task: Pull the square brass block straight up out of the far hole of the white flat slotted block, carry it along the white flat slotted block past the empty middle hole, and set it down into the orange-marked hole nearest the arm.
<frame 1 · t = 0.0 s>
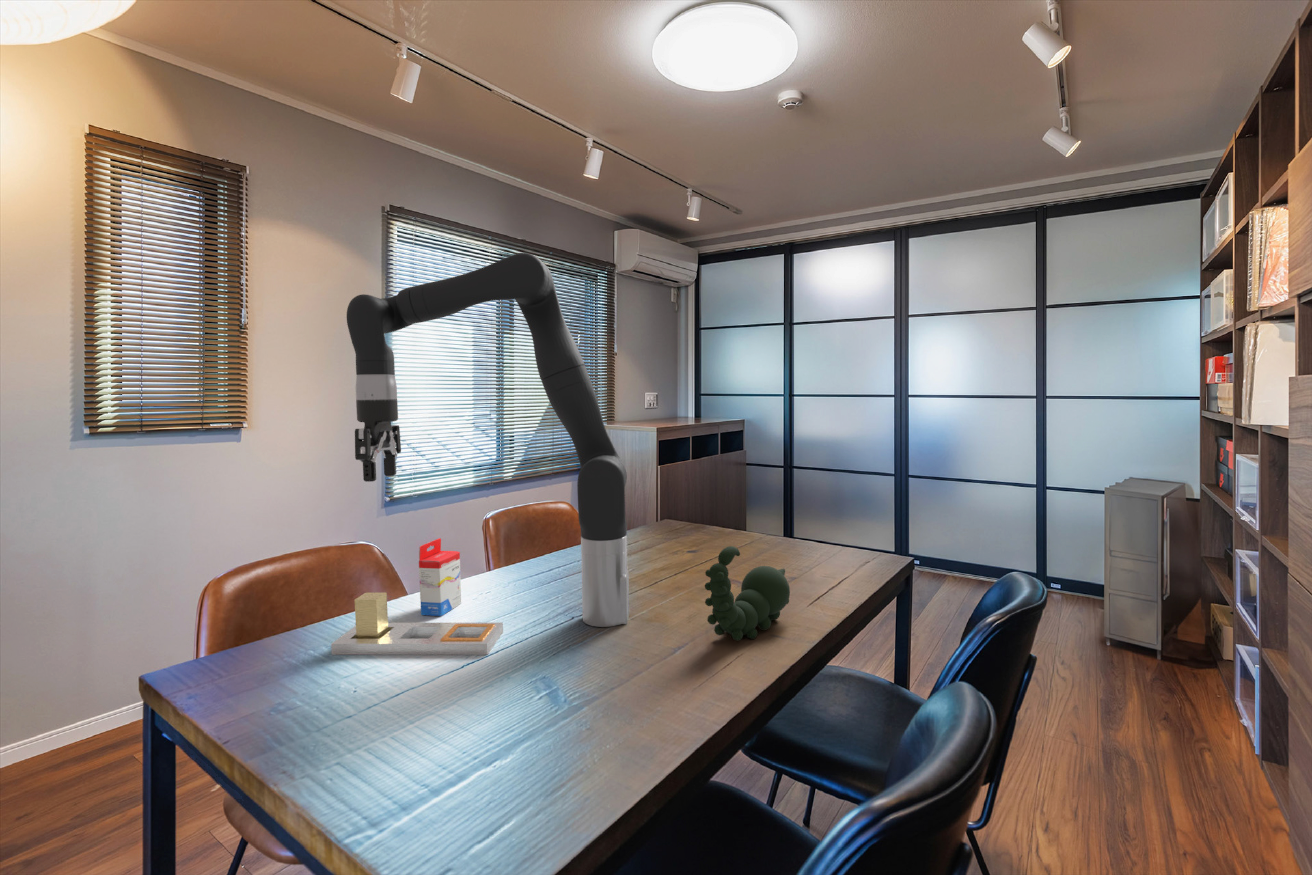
hand: (380, 478, 124), 29 cm above the table, tool pointing down, fingers open, 8 cm apart
brass block: (373, 643, 114), resting in white flat slotted block
white flat slotted block: (420, 643, 114), on the table
toy figurine: (751, 630, 118), on the table
ink box: (441, 610, 132), on the table
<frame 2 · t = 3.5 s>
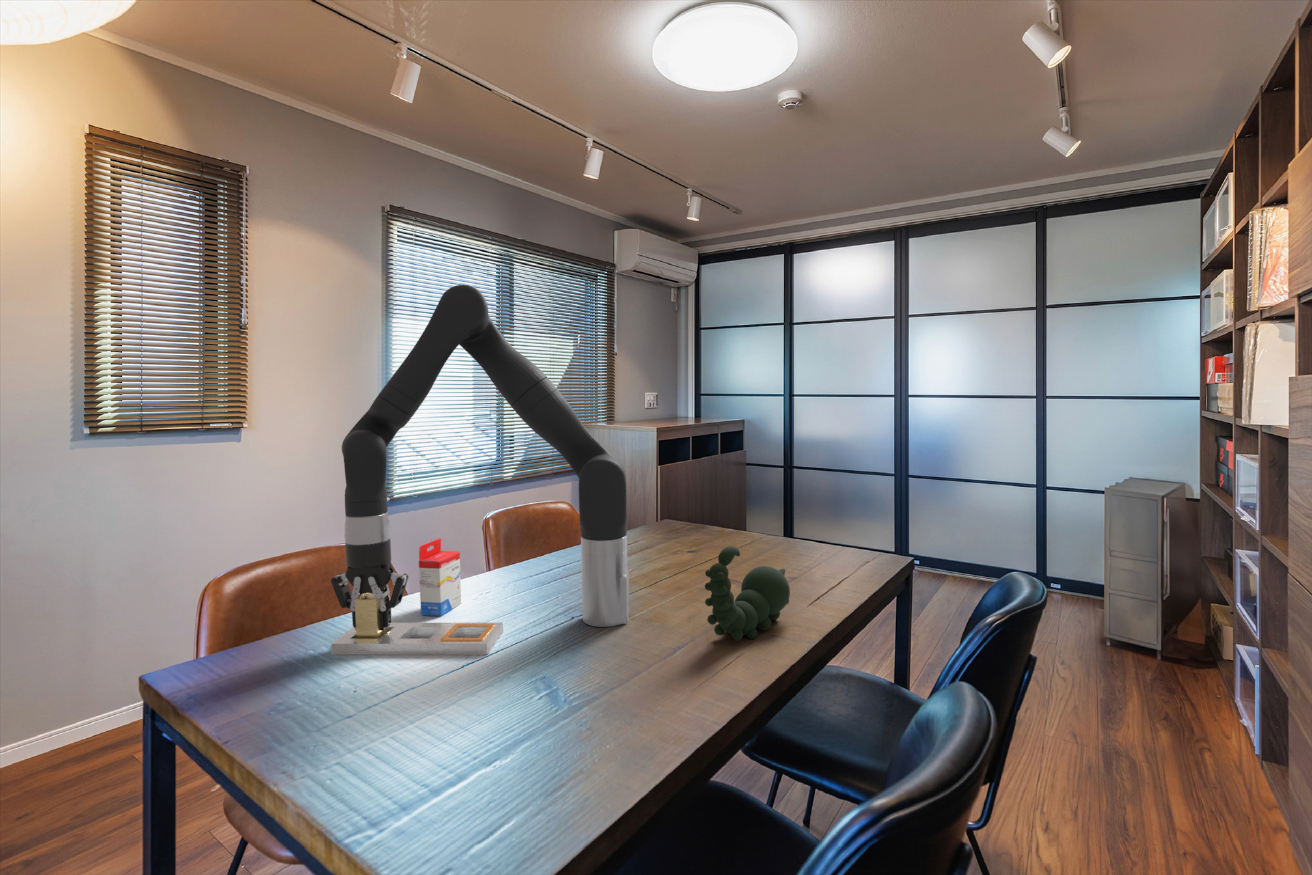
hand: (372, 628, 114), 3 cm above the table, tool pointing down, fingers closed on brass block, 4 cm apart
brass block: (373, 643, 114), resting in white flat slotted block, touching gripper
everything else where it was.
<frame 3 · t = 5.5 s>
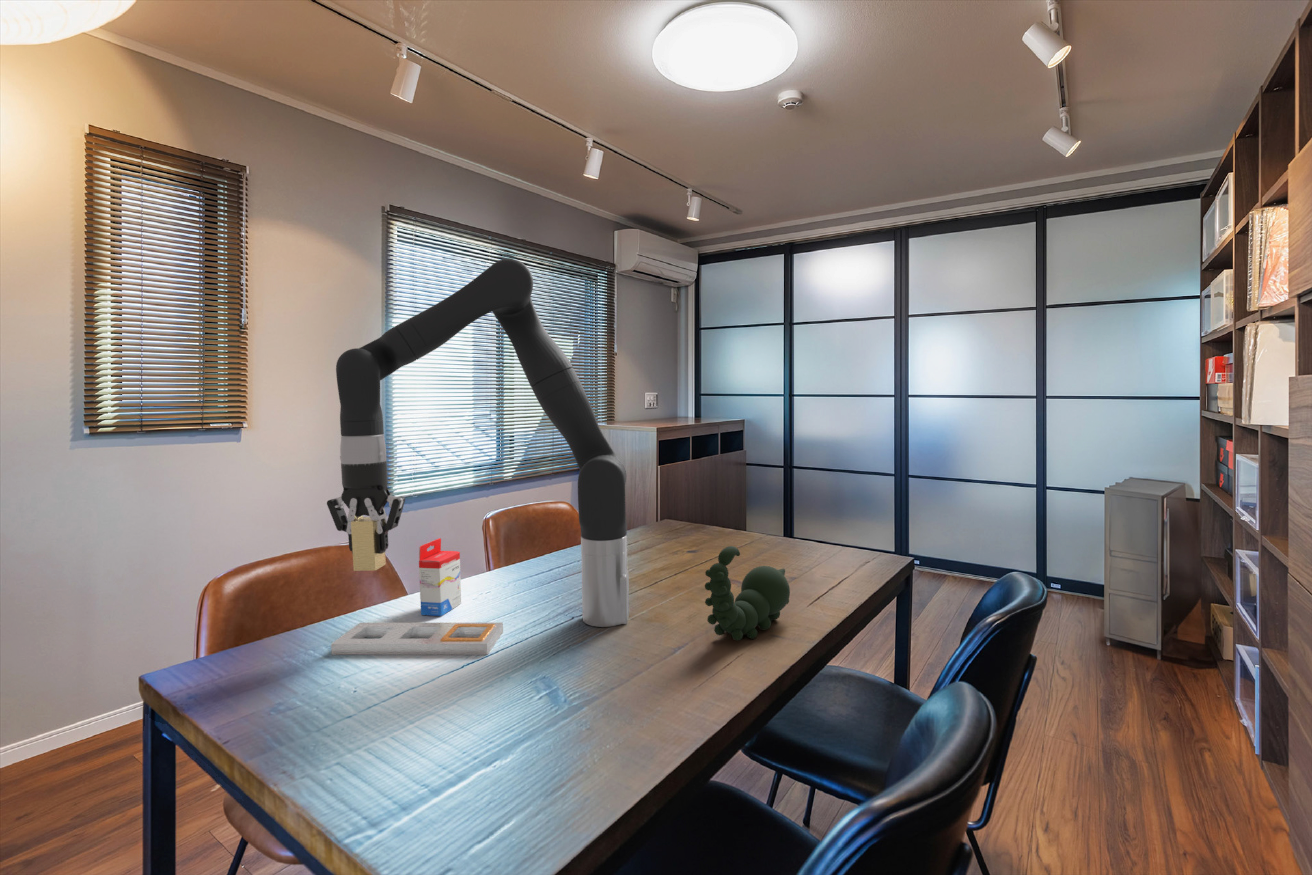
hand: (369, 552, 113), 17 cm above the table, tool pointing down, fingers closed on brass block, 4 cm apart
brass block: (370, 567, 113), point 14 cm above the table, touching gripper
everything else where it was.
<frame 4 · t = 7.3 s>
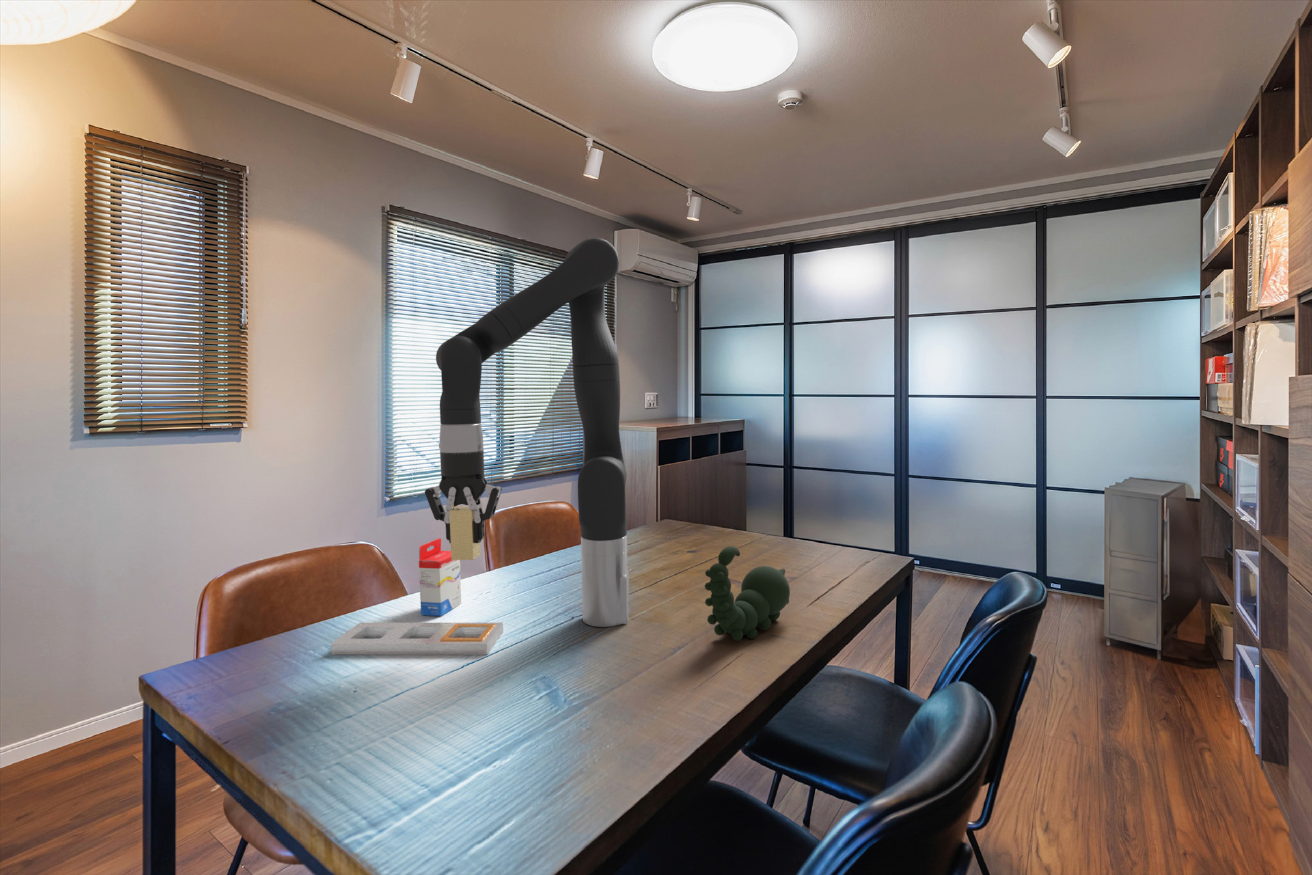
hand: (465, 541, 112), 19 cm above the table, tool pointing down, fingers closed on brass block, 4 cm apart
brass block: (466, 556, 112), point 16 cm above the table, touching gripper
everything else where it was.
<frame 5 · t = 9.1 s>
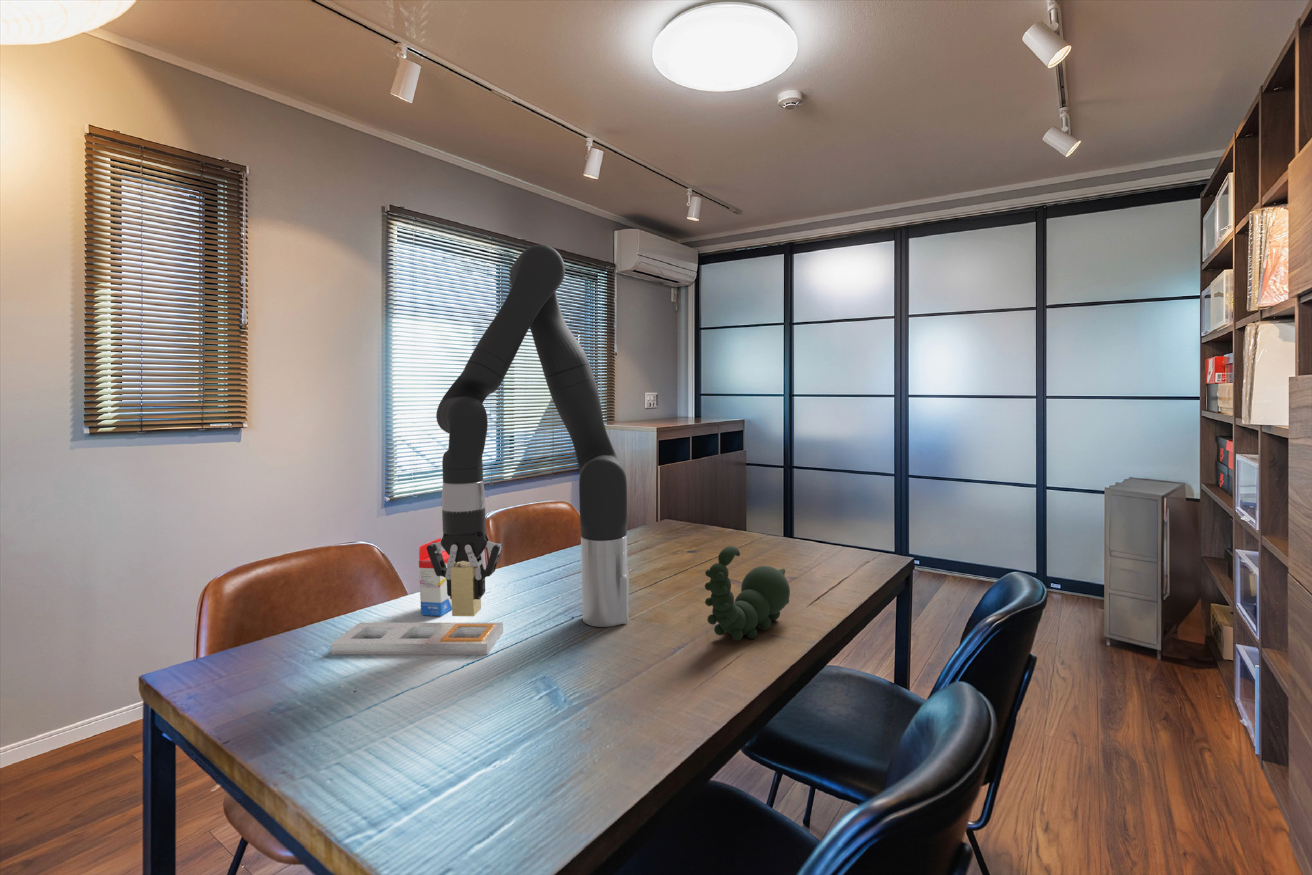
hand: (466, 597, 113), 9 cm above the table, tool pointing down, fingers closed on brass block, 4 cm apart
brass block: (466, 612, 113), point 6 cm above the table, touching gripper
everything else where it was.
when the fingers open (4 cm above the table, at t = 10.9 s): brass block stays where it is, resting in white flat slotted block.
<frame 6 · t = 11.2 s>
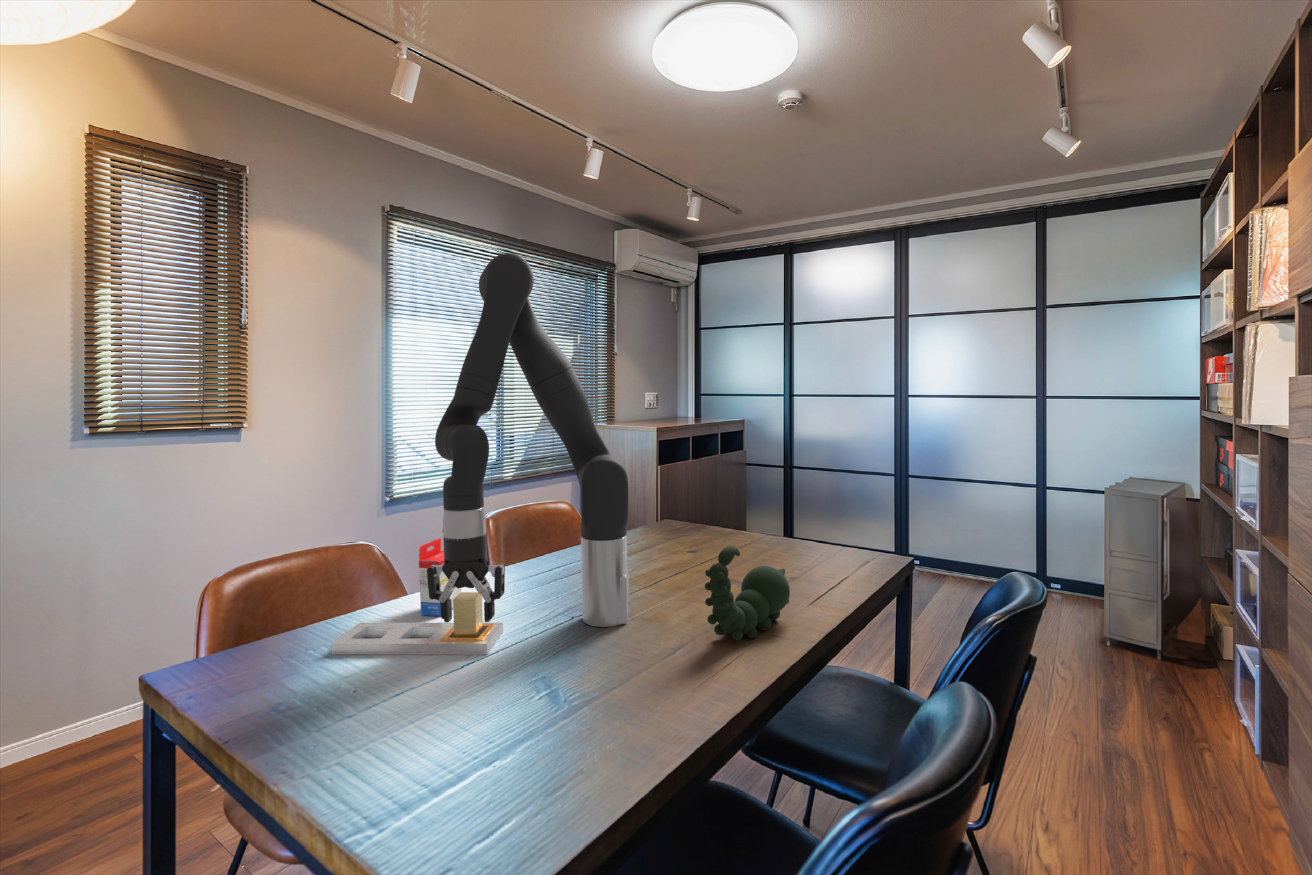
hand: (468, 620, 113), 4 cm above the table, tool pointing down, fingers open, 7 cm apart
brass block: (469, 643, 113), resting in white flat slotted block
everything else where it was.
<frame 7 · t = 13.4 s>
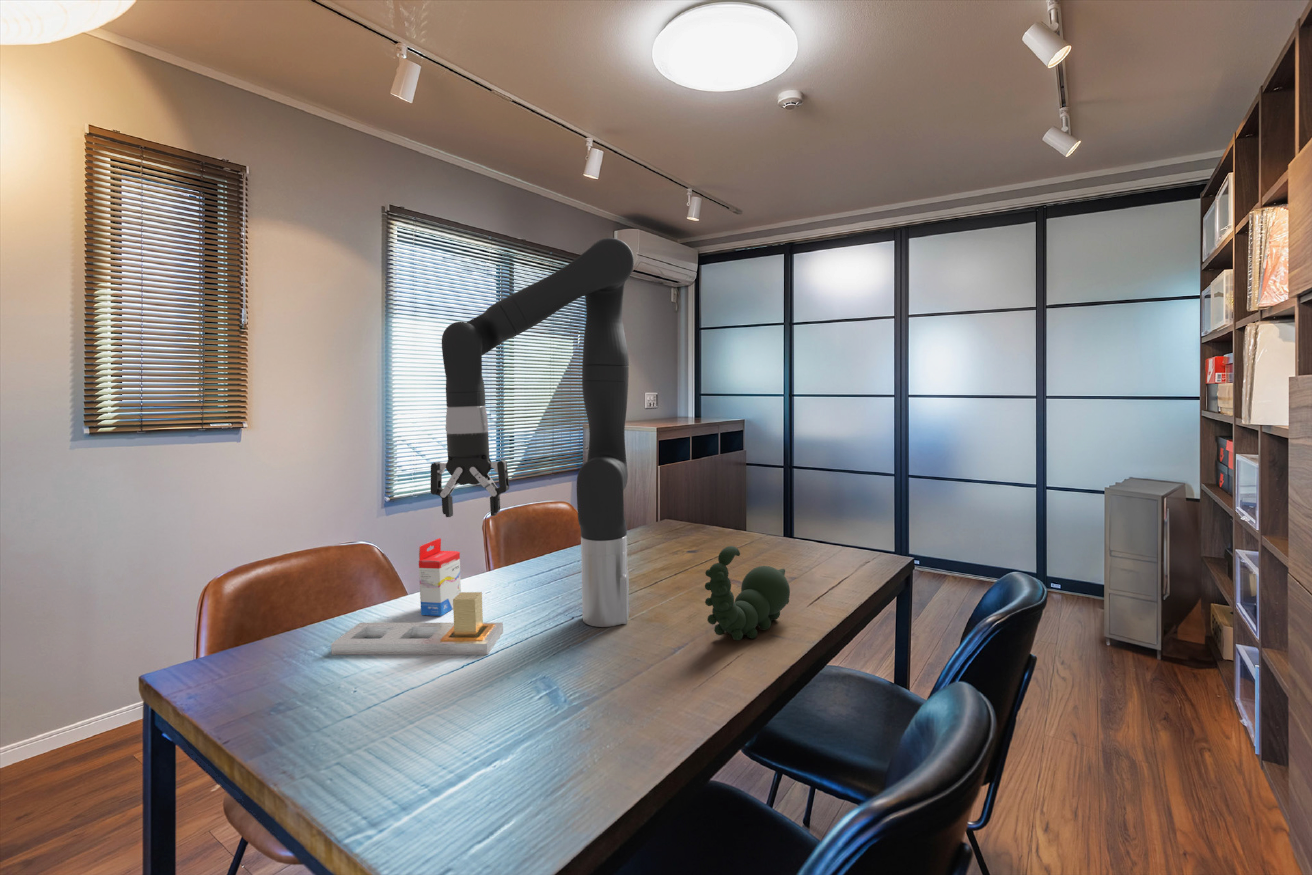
hand: (471, 515, 116), 23 cm above the table, tool pointing down, fingers open, 8 cm apart
nothing on the table moved.
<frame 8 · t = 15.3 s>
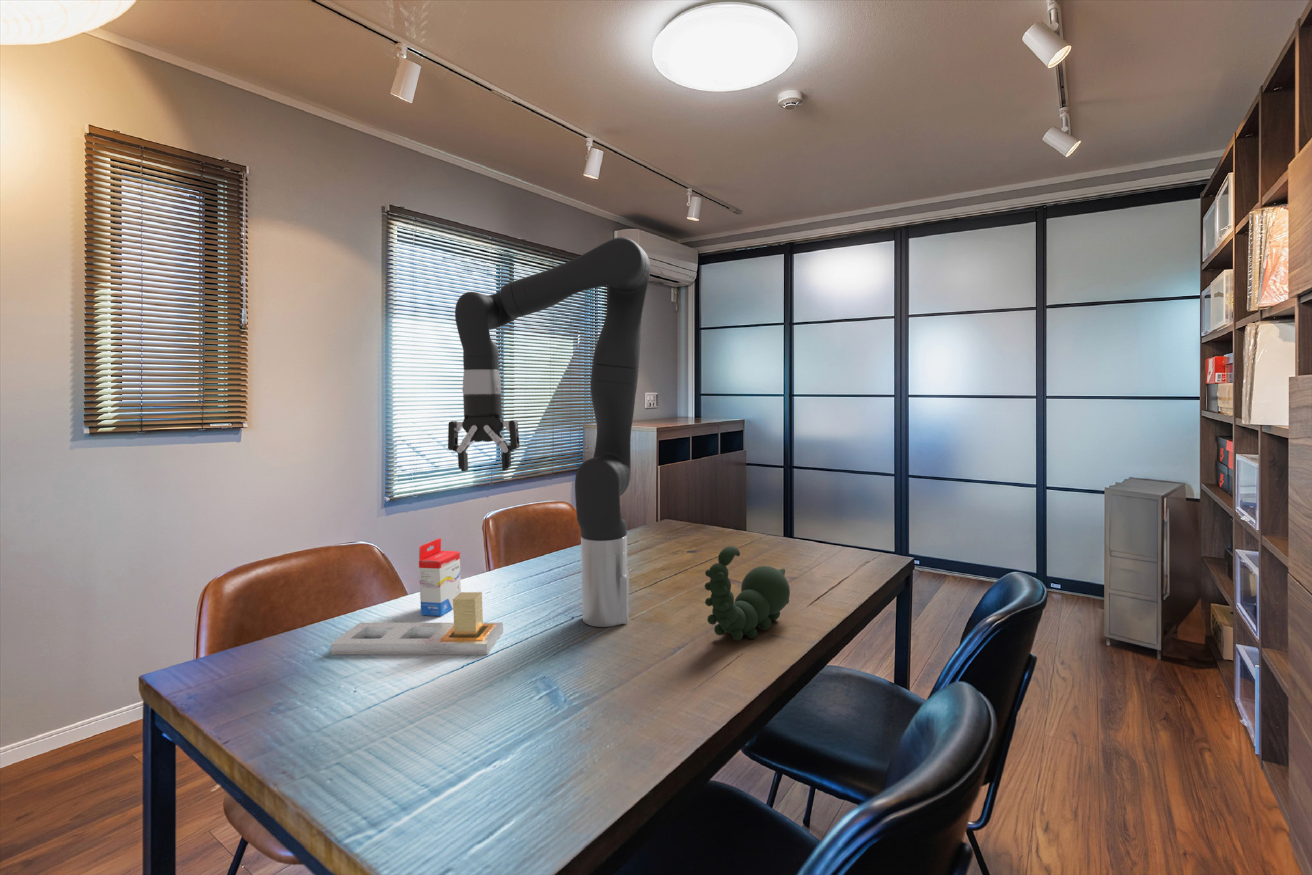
hand: (484, 470, 127), 30 cm above the table, tool pointing down, fingers open, 8 cm apart
nothing on the table moved.
at the end: brass block 0.1 cm from the target spot on the white flat slotted block, point 0.0 cm above the white flat slotted block's base; brass block tilted 0°; the gripper is holding nothing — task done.
